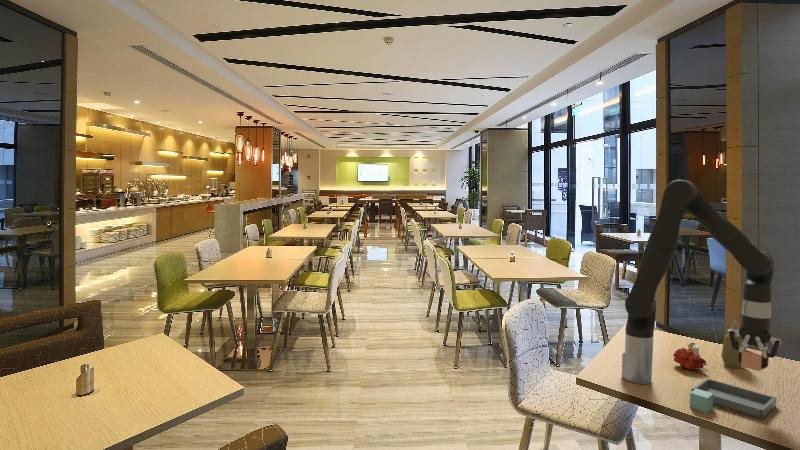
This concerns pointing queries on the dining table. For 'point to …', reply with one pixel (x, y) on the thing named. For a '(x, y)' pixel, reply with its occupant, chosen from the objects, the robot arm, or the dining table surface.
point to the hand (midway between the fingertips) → (753, 365)
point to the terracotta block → (751, 359)
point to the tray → (738, 398)
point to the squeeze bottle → (731, 349)
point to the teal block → (701, 400)
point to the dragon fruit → (689, 359)
